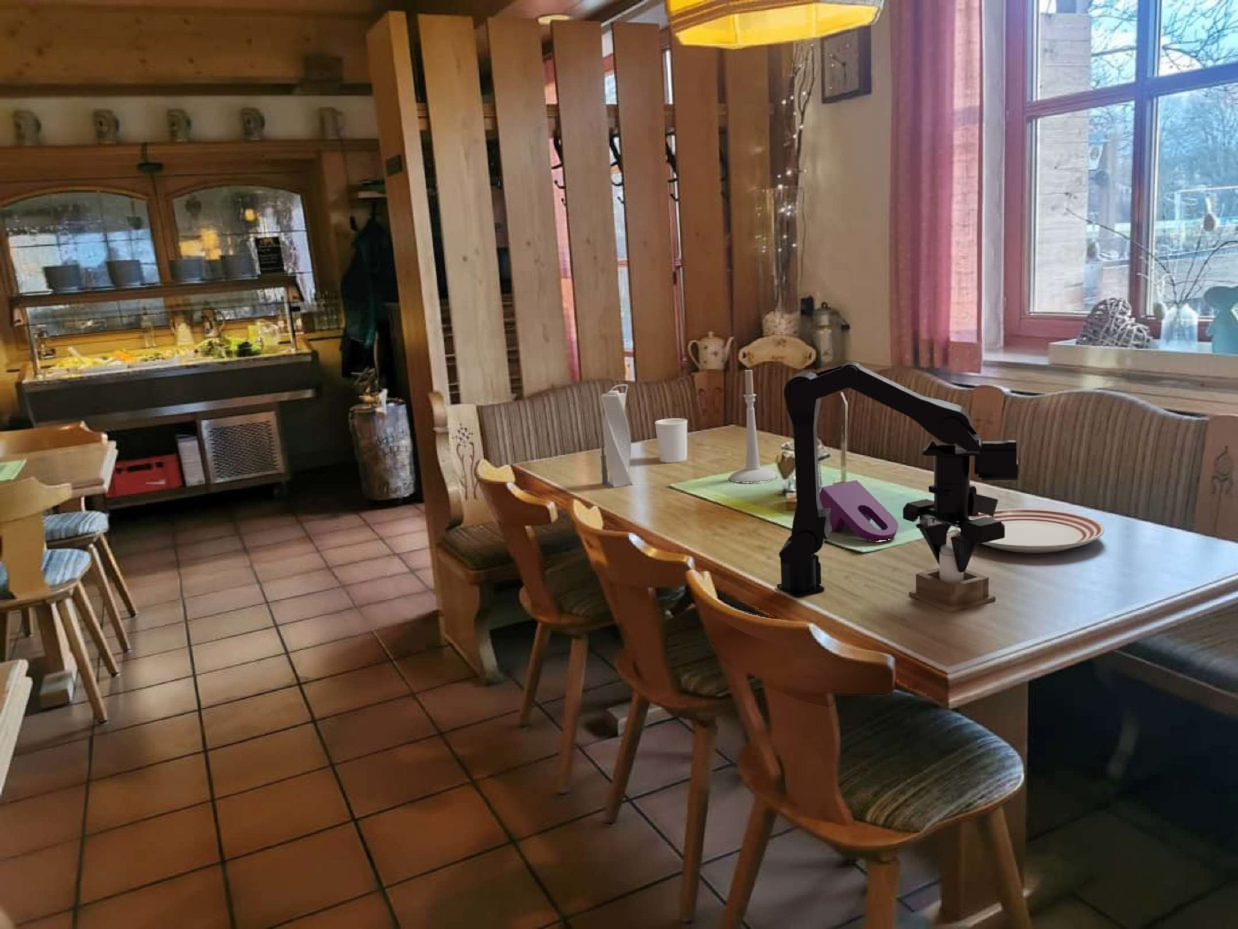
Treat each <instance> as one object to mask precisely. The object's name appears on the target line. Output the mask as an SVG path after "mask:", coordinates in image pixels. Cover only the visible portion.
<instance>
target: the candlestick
mask: <svg viewBox="0 0 1238 929" xmlns="http://www.w3.org/2000/svg"><path fill="white" fill-rule="evenodd" d="M753 377H754V376H753V370H752V369H749V368H747V369H745V370H744V383H745V394H743V395H742V396H743V397H744V401H745V403H746V454H745V455H746V457H745V458H746V459H745V460H746V461H745V462H746V464H745V465H746V466H745V467H744V468H740V469H738V470H736V471H734V472H732V473H731V474H730V475H729V480H730V479H731V480H733V481H739V482H745V483H746V482H749V483H751V482H752V483H754V482H760V481H768V480H772V479H775V478H776V477H777V478H778V473H777V472H775V471H774V470H772V469H770V468H767V467H762V466H761V464H760V457H759V448H758V437H757V436H758V435H757V425H756V416H755V408H754V404H755V403H754V402H756V398H755V397H757V394H755V393H754V379H753ZM777 478H776V479H777ZM776 479H775V480H776ZM731 480H730V481H731ZM733 481H732V482H733Z"/></svg>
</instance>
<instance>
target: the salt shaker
mask: <svg viewBox="0 0 1238 929" xmlns="http://www.w3.org/2000/svg"><path fill="white" fill-rule="evenodd" d="M938 565H939V566H938V568H939V580H942V581H944V582H946V583H949V584H953V583H957V582H961V581H964V572H961V573H960V572H959V571H958V568H957V565H956V560H955V556H954V551H953V547H952V543H951V544H950V543H949V544H948V543H946V545H942V546H941V551H940V552H939V564H938Z"/></svg>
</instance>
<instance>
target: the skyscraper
mask: <svg viewBox="0 0 1238 929" xmlns="http://www.w3.org/2000/svg"><path fill="white" fill-rule="evenodd" d="M622 386H623V387H626V388H625V392H620V391H619V390H614V389H616V388H618V387H622ZM628 389H629V385H628V384H627V383H619V384H616V385H614V386H612V387H611V389H610V390H609V391H608V392H606V393H602V394H601V395H600V399H601V402H602V406H603V410H604V419H603V440H602V439H601V446H600V447H601V448H600V449H601V455H600V461H601V478H602V479H601V480H602V481H601V485H603V486H604V485H605V487H606V488H607V489H610V488H611V489H616V488H622V487H629V486H628V485H630V486H634V483H633V480H632V479H631V476H630V474H629V473H630V466H631V464H630V463H631V457H632V456H631V455H632V441H631V440H632V439H631V432H630V431H631V430H630V426H629V420H628V418H627V415H626V412H625V410H626V402H627V393H628ZM607 467H608V468H607ZM608 472H609V475H610V477H608Z"/></svg>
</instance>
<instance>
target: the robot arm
mask: <svg viewBox="0 0 1238 929" xmlns="http://www.w3.org/2000/svg"><path fill="white" fill-rule="evenodd" d="M846 389H851V390H854V391H856V392H858V393H860V394H862V395H863V396H866V397H868V398H869V399H871V400H874V401H875V402H878V403H880V404H882V405H884V406H886V407H888V408H890V409H891V410H894V411H897V412H898V413H901V414H902V415H904V416H906V417H908V418H910V419H911V420H913V421H914V422H916V423H917V424H918V425H919V426H920V427H921V428H922V429H924V431H926V432H927V433H929V434H930V435H932V436H933V437H934V438H936V439H937V440H938V441H939V442H942V443H938V442H937V441H936V440H935V439H934V438H931V440H930V442H929V443H928V444H927V445H926V446H924V447H923V449H922V456H927V457H929V456H930V457H933V485H929V486H928V492H929V493H932V494H933V500H931V499H928V498H924V499H919V500H916V501H910V502H906V504H905V505H904V506H903V508H902V519H903V520H906V521H909V522H912V523H914V522H916V521H917V520H919V523H916V524H915V526H916V528H917V529H918V530H919V531H920V533H921V534H922V536H923V538H924V540H925V542H926V543H927V545H928V546H929V548H930V551H931V552H932V554H933V557H934V559H935V561H936V562H937V564H938V565H939V552H940V551H941V546H942V545H946V544H947V539H948V532H949V530H950V529H951V527H955V528H956V527H957V528H960V529H961V531H960V532H959V534H958V535H954V536H950V542H951V544H952V547H953V551H954V556H955V560H956V565H957V568H958V571H959V572H960V573H961V572H965V570H966V569H967V567H968V565H969V563H970V559H971V558H972V555H973V553H974V551H975V549H976V547H977V545H978V544H980V545H981V544H982V543H985V542H990V541H994V540H998V539H1002V538H1005V525H1004V524H1003V523H1002V522H1001V521H998V520H994V519H991V518H988V517H982V518H978V519H974V520H970V519H969V517H970V516H972V517H975V516H979V513H984V514H988V515H989V516H992V517H994V513H995V510H997V505H998V502H999V499H998V498H994V497H991V496H988V495H983V494H981V493H978V492H977V491H978V489H977V487H976V486H975V485H972V484H971V457H974V463H973V464H974V465H973V467H974V468H973V469H974V472H973V473H974V476H977V477H978V479H979V478H980V480H981V482H1018V480H1019V461H1018V456H1017V455H1018V452H1017V451H1018V450H1017V449H1018V448H1017V445H1018V444H1017V442H1018V441H1017V440H1016V439H1005V440H983V439H982V437H981V436H980V434H979V433H978V432H977V431H976V430H975V429H974V427H973V426H972V425H971V416H970V414H969V412H968V410H967V409H966V408H965V407H964V406H961V405H959V404H956V403H953V402H949V401H946V400H943V399H938V398H931V397H928V396H925V395H922V394H919V393H917V392H915V391H913V390H911V389H909V388H908V387H905V386H902V385H901V384H899V383H897V382H894V381H892V380H891V379H888V378H887V377H884V376H882V375H880V374H878V373H876V372H873V371H872V370H869V369H868V368H866V367H863V366H862V365H861V364H860V363H858V362H856V361H849V362H845V363H844V364H842V365H840V366H835V367H831V368H828V369H824V370H821V371H818V372H815V373H814V372H812V371H806V370H804V371H801V372H799V373H797V374H795V375H794V376H792V377H791V378H790V379H789V380H787V383H786V384H785V385H784V388H783V396H784V402H785V407H786V411H787V414H788V417H789V419H790V423H791V424H792V431H793V449H794V450H793V451H794V470H795V474H794V475H795V476H794V477H795V493H796V496H795V497H796V506H795V510H794V516H793V521H792V525H791V533H790V534H791V535H790V536H789V537H788V538H787V540H786V541H785V543H784V545H783V546H782V547H781V549H780V550H779V552H778V556H779V559H780V578H781V580H780V583H777V584H776V587H777V589H779V590H781V591H783V592H784V593H787V594H789V595H791V596H792V597H794V598H798V597H802V596H803V597H804V596H806V595H810V594H814V593H815V594H816V593H819V592H824V591H825V586H823V585H822V564H821V562H820V561H819V560H820V558H819V555H817V553H818V552H819V551H820V550H821V549H822V548H823V545H824V543H825V542H826V540H827V539H828V537H829V535H830V533H831V532H832V531H831V529H832V526H831V524H830V512H831V508H825V509H823V507H822V504H821V501H820V475H819V472H820V471H819V453H818V452H819V450H818V449H819V448H818V429H817V428H818V425H817V424H818V417H819V413H820V408H821V405H822V404H821V403H822V398H825V397H827V396H829V395H832V394H835V393H837V392H841V391H842V390H846ZM957 446H958V447H959V448H958V447H957Z"/></svg>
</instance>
